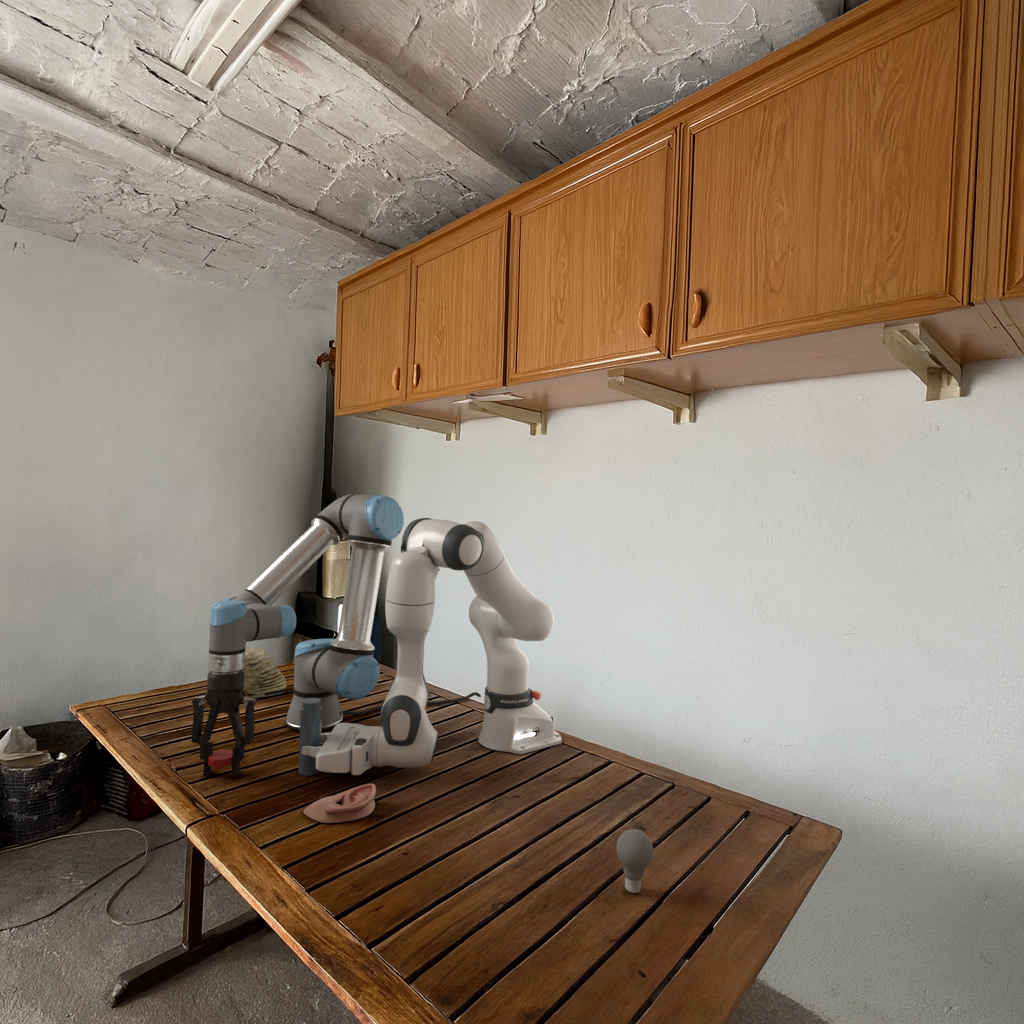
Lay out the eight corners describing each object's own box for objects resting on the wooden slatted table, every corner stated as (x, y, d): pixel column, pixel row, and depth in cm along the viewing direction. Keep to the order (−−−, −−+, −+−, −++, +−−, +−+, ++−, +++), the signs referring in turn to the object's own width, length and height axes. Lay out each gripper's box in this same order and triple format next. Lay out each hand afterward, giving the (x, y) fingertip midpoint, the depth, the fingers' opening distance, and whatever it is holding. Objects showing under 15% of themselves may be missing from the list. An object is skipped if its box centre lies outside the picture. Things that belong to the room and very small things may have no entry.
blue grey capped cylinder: (297, 768, 147) (300, 698, 147) (318, 765, 149) (321, 696, 149) (299, 776, 143) (301, 704, 142) (320, 774, 144) (323, 702, 144)
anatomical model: (295, 798, 124) (324, 774, 135) (295, 818, 124) (324, 792, 135) (358, 808, 121) (383, 782, 132) (358, 828, 121) (382, 801, 133)
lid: (205, 769, 138) (206, 760, 138) (209, 758, 143) (210, 750, 143) (233, 767, 140) (234, 758, 140) (236, 757, 145) (237, 749, 145)
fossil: (218, 695, 195) (220, 647, 195) (278, 685, 208) (279, 640, 207) (228, 703, 189) (230, 653, 188) (289, 692, 201) (290, 645, 201)
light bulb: (610, 879, 108) (613, 822, 108) (644, 879, 109) (647, 822, 109) (619, 902, 102) (622, 840, 102) (655, 901, 103) (658, 840, 103)
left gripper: (175, 673, 137) (171, 780, 138) (262, 676, 138) (257, 782, 138) (191, 664, 145) (187, 765, 145) (273, 668, 146) (268, 768, 146)
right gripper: (375, 717, 156) (318, 715, 156) (358, 749, 136) (293, 748, 135) (374, 742, 157) (317, 740, 156) (357, 779, 136) (292, 777, 136)
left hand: (221, 773), depth 142 cm, fingers closed on lid, 5 cm apart
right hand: (306, 744), depth 146 cm, fingers closed on blue grey capped cylinder, 5 cm apart
